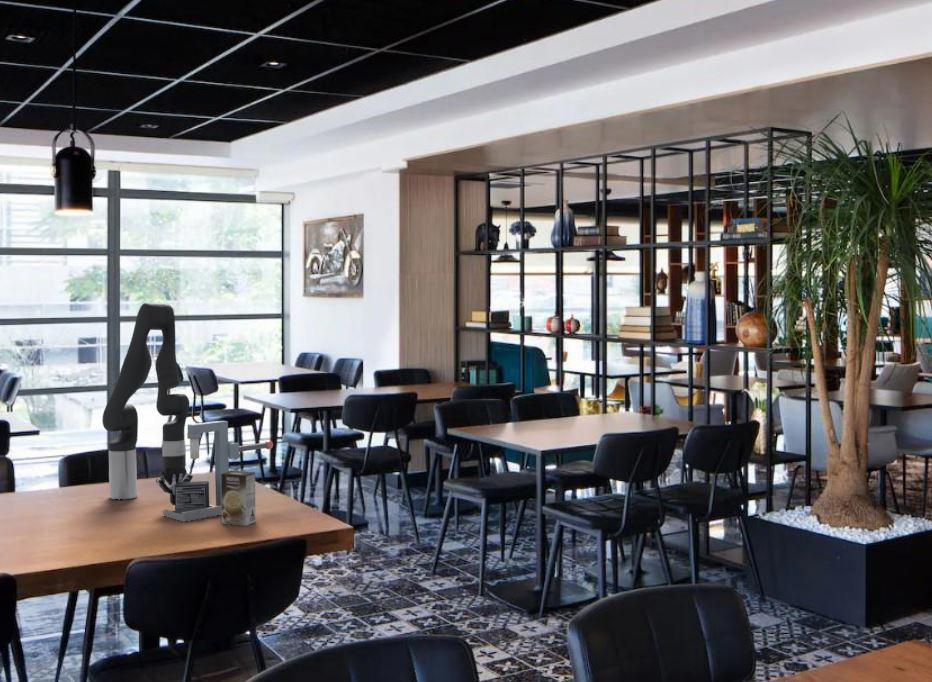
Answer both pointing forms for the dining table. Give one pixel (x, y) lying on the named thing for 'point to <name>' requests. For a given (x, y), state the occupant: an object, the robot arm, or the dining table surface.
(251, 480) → the coffee box
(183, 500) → the small box
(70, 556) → the dining table surface
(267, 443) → the lever
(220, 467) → the press
